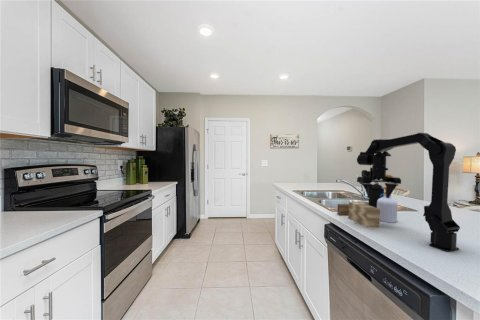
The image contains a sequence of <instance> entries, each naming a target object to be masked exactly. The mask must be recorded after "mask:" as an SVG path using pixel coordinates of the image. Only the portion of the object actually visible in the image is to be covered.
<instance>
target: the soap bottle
mask: <svg viewBox="0 0 480 320" xmlns="http://www.w3.org/2000/svg"><path fill="white" fill-rule="evenodd" d="M386 177H394V176H393V175H391V174H386ZM382 188H384V196H383V197H382V198H380V199H378V200H377V208H378V209H380V222H382V223H383V222H384V223H390V224H391V223H393V224H394V223H397V222H398V202H397V201H396V199H394V198H392V194H391V195H390V197H389V198H386V186H383V187H382Z"/></svg>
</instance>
